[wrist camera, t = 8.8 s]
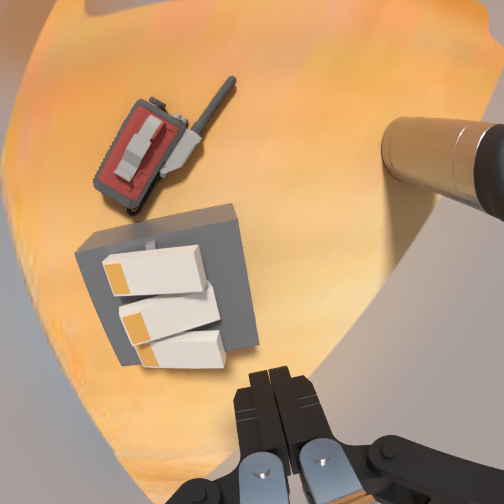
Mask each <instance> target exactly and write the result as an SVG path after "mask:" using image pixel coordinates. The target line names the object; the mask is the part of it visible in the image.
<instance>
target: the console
mask: <svg viewBox="0 0 504 504" xmlns="http://www.w3.org/2000/svg"><path fill="white" fill-rule="evenodd" d="M190 245H199V249H200V253H201V258H202V262H203V266H204V271H205V275H206V279H207V281H208V280H209V282H210V284H211V285H212V287H213V290H214V294H215V299H216V303H217V307H218V311H219V315H220V320H217V321H214V322H211V323H208V324H205V325H201V326H198V327H195V328H192V329H189V330H186V331H182V332H188V331H215V330H219V331H220V335H221V339H222V343H223V347H224V350H225V351H230V350H236V349H241V348H246V347H251V346H256V345H259V339H258V333H257V328H256V322H255V316H254V311H253V305H252V299H251V293H250V288H249V282H248V276H247V270H246V265H245V259H244V253H243V247H242V241H241V235H240V230H239V224H238V218H237V216H236V213H235V210H234V207H233V205H232V203H231V204H225V205H220V206H215V207H210V208H204V209H199V210H194V211H189V212H184V213H179V214H175V215H170V216H165V217H160V218H156V219H151V220H146V221H142V222H137V223H133V224H128V225H124V226H120V227H115V228H111V229H107V230H103V231H99V232H94V233H93V234H92V235H91V236H90V237H89V238H88V239H87V240H86V241H85V242H84V243H83V244H82V246H81V247H80V248H79V249H78V250H77V251H76V252H75V253H74V254H75V257H76V259H77V262H78V265H79V268H80V271H81V274H82V276H83V279H84V282H85V284H86V287H87V289H88V292H89V295H90V297H91V300H92V302H93V304H94V307H95V309H96V312H97V314H98V316H99V319H100V321H101V323H102V326H103V328H104V330H105V332H106V334H107V337H108V339H109V341H110V343H111V345H112V347H113V349H114V352H115V354H116V356H117V358H118V360H119V362H120V364H121V366H130V365H139V364H142V362H141V360H140V358H139V356H138V354H137V351H136V349H135V347H134V346H132V345H131V342H130V340H129V338H128V336H127V333H126V331H125V328H124V326H123V324H122V321H121V319H120V316H119V307H121V306H124V305H127V304H131V303H134V302H138V301H141V300H144V299H148V298H151V297H154V296H158V295H161V294H153V295H133V296H114V295H113V292H112V289H111V287H110V284H109V281H108V278H107V275H106V272H105V270H104V267H103V264H102V261H103V260H105V259H106V258H107V257H108V256H109V255H110V254H119V253H128V252H136V251H145V250H154V249H163V248H172V247H181V246H190Z"/></svg>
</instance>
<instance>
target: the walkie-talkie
mask: <svg viewBox="0 0 504 504" xmlns="http://www.w3.org/2000/svg"><path fill="white" fill-rule="evenodd" d="M235 83H236V78H235V77H234V76H230V77H228V79H227V80H226V81H225V83H224V84H223V86H222V87H221V88H220V90H219V91H218V92H217V94H216V95H215V97H214V98H213V99H212V101H211V102H210V104H209V105H208V107H207V108H206V109H205V111H204V112H203V114H202V115H201V117H200V118H199V120H198V121H196V122H195V123H194V125H193V126H192V128H191V129H190V130H188V129H187V126H186V124H187V123H186V122H187V121H188V119H186V118H184V117H182V116H181V115H179V114H178V113H175V114H174V115H173V116H172V115H170V114H168V113H166V112H165V111H163V110H161V108H165V106H166V104H164V103H162V102H161V101H159V100H157V99H155V98H154V97H150V99H149V101H150V103H149V102H147V101H145V100H143V99H140V100H138V101H137V102H136V103H135V104H134V106H133V108H132V109H131V111H130V113H129V115H128V116H127V118H126V119H125V121H124V122H123V124H122V126H121V128H120V130H119V132H118V133H117V136H116V137H115V140H114V142H112V143H113V144H112V145H111V146H110V149H109V150H108V153H107V154H106V155H105V158H104V159H103V162H102V163H101V166H100V167H99V170H98V171H97V174H96V175H95V178H94V179H93V183H94V188H95V189H97V190H98V191H100V192H101V193H103V194H105V195H107V196H108V197H110V198H112V199H113V200H115V201H117V202H118V203H120V204H122V205H123V206H125V207H127V213H128V214H129V215H130V216H136V215H137V214H138V213H139V212H140V211H141V209H142V207H143V205H144V204H145V202H146V200H147V198H148V197H149V195H150V193H151V191H152V190H153V188H154V186H155V185H156V183H157V182H159V181H161V179H162V178H165V177H166V175H167V173H168V172H170V171H173V170H175V169H178V168H180V167H183V165H184V164H185V162H186V160H187V159H188V157H189V156H190V154H191V153H192V151H193V150H194V148H195V147H196V145H197V144H199V143H200V141H201V140H202V138H201V137H200V135H201V133H202V132H203V130H204V129H205V125H206V123H207V122H208V121H209V119H210V118H211V116H212V115H213V113H214V112H215V110H216V109H217V108H218V106H219V105H220V103H221V102H222V101H223V99H224V98H225V96H226V95H227V94H228V92H229V91H230V90H231V88H232V87H233V85H234V84H235ZM180 118H181V119H180ZM159 172H160V173H161V174H160V175H159V176H160V177H159V178H157V179H156V177H157V176H158V173H159ZM155 179H156V180H155ZM154 180H155V181H154ZM153 181H154V182H153ZM146 193H147V194H146ZM139 205H140V206H139ZM138 206H139V208H138V210H137V211H136V212H132V211H131V210H130V209H133V208H136V207H138Z"/></svg>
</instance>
